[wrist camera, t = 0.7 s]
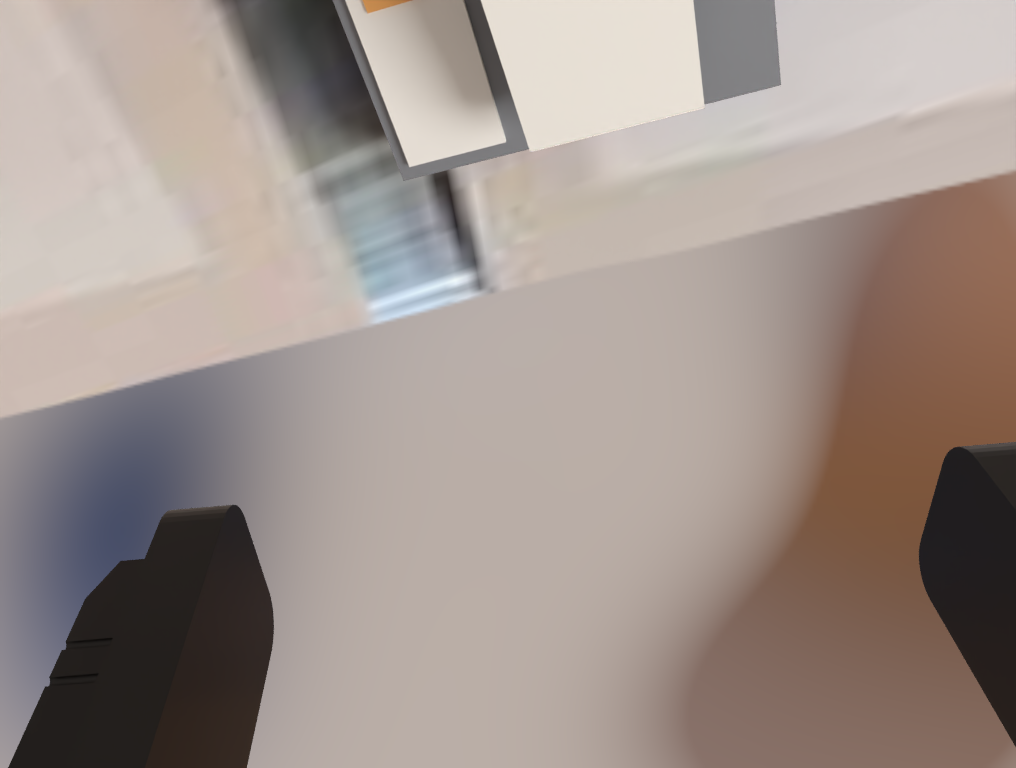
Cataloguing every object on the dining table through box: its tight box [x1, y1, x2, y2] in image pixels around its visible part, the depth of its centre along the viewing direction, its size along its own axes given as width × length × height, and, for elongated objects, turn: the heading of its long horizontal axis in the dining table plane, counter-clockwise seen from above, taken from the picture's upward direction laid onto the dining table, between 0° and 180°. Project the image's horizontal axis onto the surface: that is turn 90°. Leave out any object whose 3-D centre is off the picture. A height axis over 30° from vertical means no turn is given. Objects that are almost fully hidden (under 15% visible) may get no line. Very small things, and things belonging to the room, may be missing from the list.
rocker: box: [481, 0, 705, 152], centre depth 22 cm, size 6×5×1 cm
